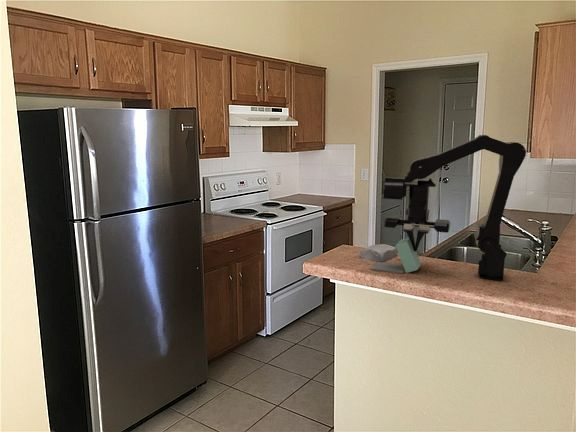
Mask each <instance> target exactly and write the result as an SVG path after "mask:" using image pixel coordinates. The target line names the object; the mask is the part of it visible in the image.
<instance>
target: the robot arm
mask: <svg viewBox="0 0 576 432" xmlns="http://www.w3.org/2000/svg"><path fill="white" fill-rule="evenodd" d="M482 150H486V151H488V152H491V153H494V154H496V155H499V157H498V175H497V178H496V181H495V184H494V189H493V193H492V196H491V199H490V203H489V205H488V206H489V207H488V210H487V213H486V217H485V219H484V221H483V223H479V222H477V224H476V230H475V232H474V234H473V237H474V238H475V242H476V245H477V248H478V250H479V251H481V252H482V254H481V257H480V258H479V259H478V267H477V269H478V270H477V271H478V272H477V274H478V275H479V279H486V280H487V279H488V280H495V281H504V279H505V278H504V276H505V275H504V272H505V261H506V257H507V255H508V254H507V252H506V250H505V249H504V248H503V246H502V245H501V244H500V238H501V221H502V218H503V214H504V212H505V208H506V205H507V201H508V199H509V195H510V191H511V188H512V184H513V181H514V177H515V176H516V174H517V172H518V171H519V169H520V168H521V166H522V164H523V162H524V160H525V158H526V155H527V150H526V148H525V146H524V145H523V144H522V143H521V142H520V143H519V142H516V141H508V142H504V141H501V140H499V139H495V138H492V137H490V136H489V135H486V134H479V135H478V136H476V137H475V138H472V139H469V140H467V141H465V142H463V143H460V144H458V145H456V146H454V147H451V148H449V149H447V150H444V151H442V152H440V153H436V154H431V155H428V156H427V155H426V156H423V157H419V158H416V159H415V160H413V161H412V162H411V163H410V164H411V165H410V168H409V171H408V172H407V174H404V177H392V176H386V177H385V180H384V188H383V200H392V201H396V200H397V201H403V200H404V198H407V196H408V203H407V205H406V209H405V215H406V216H407V219H403V218H401V216H400V215H388V216H387V217H386V218H385V219H384V225H383V226H384V227H385V228H390V229H395V228H396V227H397V226H403V227H404V228H403V232H404V233H406V234H407V238H409V239H410V241H411V244H412V247H413V250H414V252H418V249H419V247H420V244H421V241H422V240H423V237H424V235H425V234H429V232H430V231H431V229H434V230H435V231H436V232H438V233H449V232H450V230H451V221H450V219H440V218H439V219H438V218H436V220H435V221H430V220H429V218H430V210H429V198H430V196H429V195H430V188H435V187H436V186H437V184H436V183H435V181H434V180H433V179H432V177H429V176H430V175H432V174H434V173H435V172H437V171H438V170H439V169H441V168H443V167H444V166H446V165H448V164H451V163H454V162H456V161H458V160H461V159H463V158H465V157H469V156H470V155H473V154H475V153H477V152H479V151H482ZM427 177H429V178H428V179H427V180H425V179H426V178H427ZM423 179H424V180H423ZM416 180H417V182H414V181H416ZM408 187H409V189H408ZM408 191H409V192H408ZM407 193H408V195H407ZM417 227H418V228H419V229H418V230H417ZM416 230H417V235H416Z"/></svg>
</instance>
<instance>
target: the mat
mask: <svg viewBox="0 0 576 432" xmlns="http://www.w3.org/2000/svg"><path fill="white" fill-rule="evenodd" d="M370 270H371V271H378V272H386V273H393V274H394V273H396V274H404V273H406V272H405V269H404V266H403V264H402V263H400V264H398V263H391V262H378V261H375V263H374V264H373V265H372V266H371V268H370Z"/></svg>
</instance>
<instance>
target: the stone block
mask: <svg viewBox="0 0 576 432" xmlns="http://www.w3.org/2000/svg"><path fill="white" fill-rule="evenodd" d="M359 251H360V252H359V257H360V258H361V259H363V260H365V261H372V262H373V261H374V262H383V263H386V261H389V260H391V259H392V258H394V257H396V256H397V255H398V251H397V248H396V246H392V245H389V244H383V243H381V244H372V245H369V246H368V247H366V248H364V249H361V250H359Z"/></svg>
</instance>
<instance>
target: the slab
mask: <svg viewBox="0 0 576 432" xmlns="http://www.w3.org/2000/svg"><path fill="white" fill-rule="evenodd" d="M394 247H396V248H397V254H398V256H399V259H400V262H401V265H403V266H404V269H405V272H404V273H405V274H408V273H412V272H415V271H418V270H419V268H420V266H421V264H422V262H421V260H420V258H419V255H418V253H417V252H418V251H417V252H414V250H413V247H412V244H411V241H410V239H409V237H406V238H403V239H400V240H399V241H398V242H397V243H396V244H395V246H394Z"/></svg>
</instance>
